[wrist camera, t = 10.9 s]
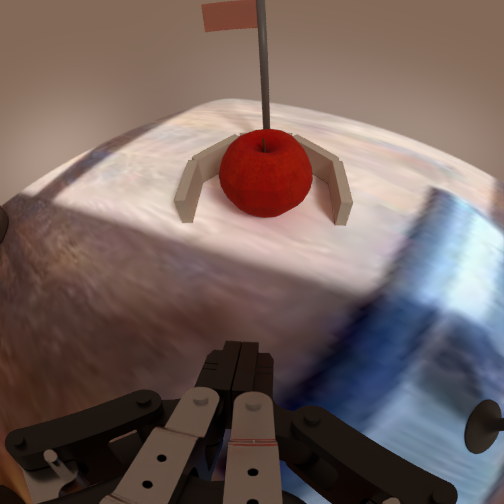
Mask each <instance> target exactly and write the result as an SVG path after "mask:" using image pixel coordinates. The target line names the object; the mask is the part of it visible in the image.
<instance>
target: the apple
mask: <svg viewBox="0 0 504 504" xmlns="http://www.w3.org/2000/svg"><path fill="white" fill-rule="evenodd" d="M219 179H220V184H221V187H222V189H223V191H224V193H225V194H226V196H227V197H228V198H229V200H231V201H232V202H233V203H234V204H235V205H236V206H237V207H238V208H239V209H240V210H242V211H244V212H246V213H248V214H251V215H254V216H259V217H276V216H279V215H281V214H283V213H285V212H287V211H288V210H290V209H292V208H294V207H296V206H298V205H299V204H300V203H301V202H302V201H303V200H304V198H305V197H306V195H307V194H308V192H309V190H310V188H311V184H312V180H313V176H312V166H311V163H310V161H309V158H308V156H307V154H306V152H305V150H304V148H303V147H302V146H301V145H300V143H299V142H298V141H297V140H296V139H295V138H294V137H293V136H292V135H290V134H288V133H286V132H283V131H281V130H275V129H262V130H255V131H252V132H249V133H246V134H243V135H241V136H239V137H238V138H237V139H236V140H234V141H233V142H232V143H231V144H230V145H229V147H228V148H227V150H226V152H225V154H224V155H223V157H222V161H221V164H220V171H219Z"/></svg>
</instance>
